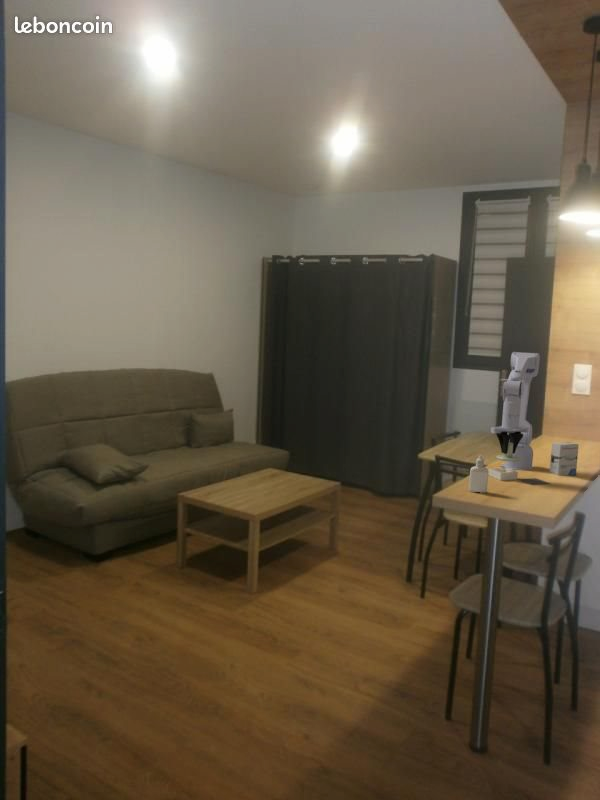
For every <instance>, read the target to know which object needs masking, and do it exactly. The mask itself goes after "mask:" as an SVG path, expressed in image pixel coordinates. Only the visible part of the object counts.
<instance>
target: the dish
mask: <svg viewBox="0 0 600 800" xmlns="http://www.w3.org/2000/svg"><path fill="white" fill-rule="evenodd" d="M518 474H519V472H518V471H517V470H511V469H509V468H505V467H494V468H488V477H490V478H493V479H495V480H498V481H517V480H518V477H519V476H518Z"/></svg>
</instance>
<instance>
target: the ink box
mask: <svg viewBox="0 0 600 800" xmlns="http://www.w3.org/2000/svg"><path fill="white" fill-rule="evenodd" d="M578 455H579V444H578V443H574V442H571V441H569V442H568V441H566V442H552V443H551V454H550V465H549V474H553V475H556V476H577V470H578V469H577V468H578V466H577V465H578V459H579V458H578Z"/></svg>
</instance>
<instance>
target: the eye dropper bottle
mask: <svg viewBox="0 0 600 800" xmlns="http://www.w3.org/2000/svg"><path fill="white" fill-rule="evenodd" d="M469 470H470V471H469V472H470V473H469V480H468V481H469V482H468V483H469V484H468V491H469V492H470V493H474V492H480V493H479V494H486V493H487V492H488V482H489V481H488V480H489V476H488V475H489V468H487V467H485V459H483V455H482V454H481V455H480V454H479V455H478V457H477V459H476V460H475V465H474V466H472V467H471V468H470V469H469Z"/></svg>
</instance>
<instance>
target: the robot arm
mask: <svg viewBox="0 0 600 800" xmlns="http://www.w3.org/2000/svg"><path fill="white" fill-rule="evenodd" d="M540 357H541V356H540V354H539V352H519V351H518V352H517V351H513V352H512V353H511V356H510V368H511V371H510V373H509V375H508V378H507V380H506V381H504V382H503V386H502V401H503V407H502V419H501V425H500V426H492V427H490V433H491V434H495V435H496V437H497V440H498V442H499V445H500V451H501V452H500V453H502V454H503V455H504V454H507V450H508V443H509V442H511V443H513V456H518V457H520V461H516V462H511V461H505V463H504V464H500V467H501V468H507V469H510V470H513V471H521V470H534V467H533V461H534V449H533V447H532V446H531V444H532V440H533V425H532V424H531V423H530V422H529V421H528V420H526V419H527V412H528V405H529V404H528V402H529V397H530V389H531V383H532V380H533V378H535V377H537V376H538V374H539V369H540V368H539V366H540Z"/></svg>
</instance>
